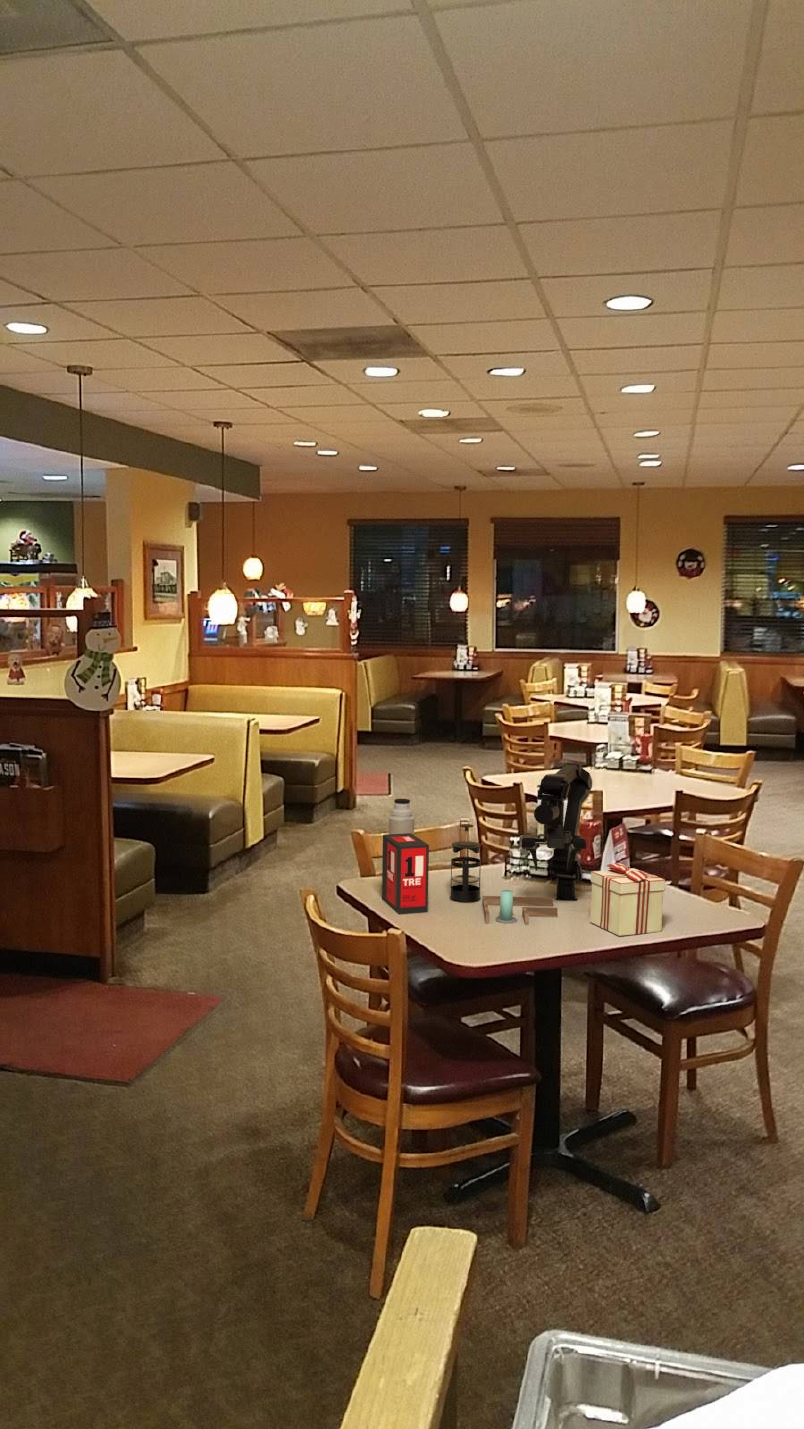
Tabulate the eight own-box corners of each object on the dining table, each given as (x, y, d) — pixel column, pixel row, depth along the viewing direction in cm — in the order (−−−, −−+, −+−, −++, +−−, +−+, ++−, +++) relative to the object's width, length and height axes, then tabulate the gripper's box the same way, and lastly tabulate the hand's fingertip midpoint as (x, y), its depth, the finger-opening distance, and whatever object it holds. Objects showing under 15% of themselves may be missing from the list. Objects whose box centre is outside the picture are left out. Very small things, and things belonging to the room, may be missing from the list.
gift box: (673, 929, 307) (676, 869, 305) (622, 939, 298) (624, 876, 296) (633, 914, 322) (635, 856, 320) (582, 922, 313) (584, 863, 311)
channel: (482, 904, 330) (482, 895, 330) (552, 905, 329) (552, 897, 329) (485, 923, 310) (485, 915, 310) (560, 925, 309) (560, 916, 309)
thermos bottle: (382, 885, 349) (384, 798, 346) (402, 881, 354) (403, 796, 351) (398, 891, 343) (400, 802, 340) (418, 887, 348) (419, 799, 345)
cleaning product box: (427, 912, 320) (429, 844, 318) (398, 914, 318) (399, 846, 316) (409, 897, 336) (410, 833, 334) (381, 899, 333) (382, 834, 331)
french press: (480, 904, 330) (482, 828, 327) (449, 903, 330) (451, 827, 328) (480, 893, 342) (481, 820, 339) (449, 892, 342) (451, 819, 339)
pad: (494, 916, 317) (495, 915, 317) (515, 917, 317) (515, 916, 317) (496, 922, 311) (496, 921, 311) (517, 923, 311) (517, 922, 311)
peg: (499, 917, 316) (500, 889, 315) (511, 917, 315) (512, 890, 315) (500, 920, 312) (500, 893, 311) (512, 920, 312) (513, 893, 311)
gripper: (524, 823, 314) (522, 876, 315) (589, 824, 313) (587, 878, 315) (520, 815, 325) (519, 867, 326) (584, 816, 324) (582, 868, 326)
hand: (552, 870), depth 323 cm, fingers open, 9 cm apart
